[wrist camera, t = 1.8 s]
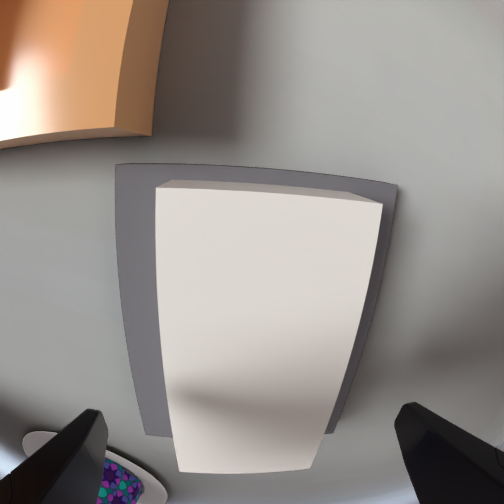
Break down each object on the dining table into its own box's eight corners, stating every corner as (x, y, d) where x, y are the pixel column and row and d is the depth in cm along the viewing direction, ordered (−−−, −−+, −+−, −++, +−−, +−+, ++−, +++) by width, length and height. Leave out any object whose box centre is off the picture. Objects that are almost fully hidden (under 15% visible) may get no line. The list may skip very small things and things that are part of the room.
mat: (328, 420, 15) (333, 433, 14) (148, 421, 14) (145, 434, 13) (384, 182, 11) (397, 185, 10) (124, 163, 10) (115, 164, 9)
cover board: (299, 431, 14) (310, 468, 11) (182, 432, 13) (179, 471, 11) (348, 192, 10) (382, 204, 8) (172, 179, 10) (155, 187, 7)
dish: (151, 135, 10) (113, 127, 6) (-44, 158, 9) (-99, 168, 5) (189, -79, 7) (183, -133, 3) (-2, -28, 5) (-39, -50, 2)
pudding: (160, 445, 15) (151, 515, 10) (173, 512, 19) (172, 559, 14) (4, 404, 14) (-26, 454, 9) (53, 485, 17) (41, 525, 12)
